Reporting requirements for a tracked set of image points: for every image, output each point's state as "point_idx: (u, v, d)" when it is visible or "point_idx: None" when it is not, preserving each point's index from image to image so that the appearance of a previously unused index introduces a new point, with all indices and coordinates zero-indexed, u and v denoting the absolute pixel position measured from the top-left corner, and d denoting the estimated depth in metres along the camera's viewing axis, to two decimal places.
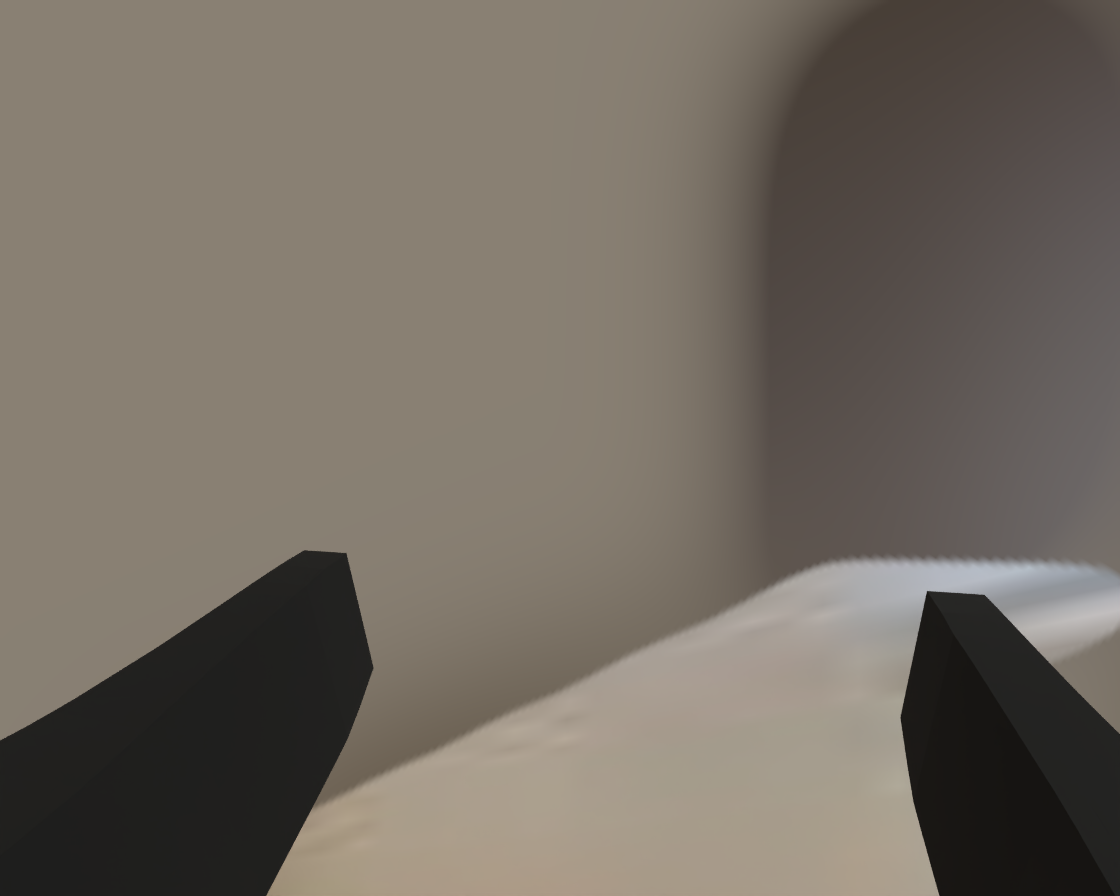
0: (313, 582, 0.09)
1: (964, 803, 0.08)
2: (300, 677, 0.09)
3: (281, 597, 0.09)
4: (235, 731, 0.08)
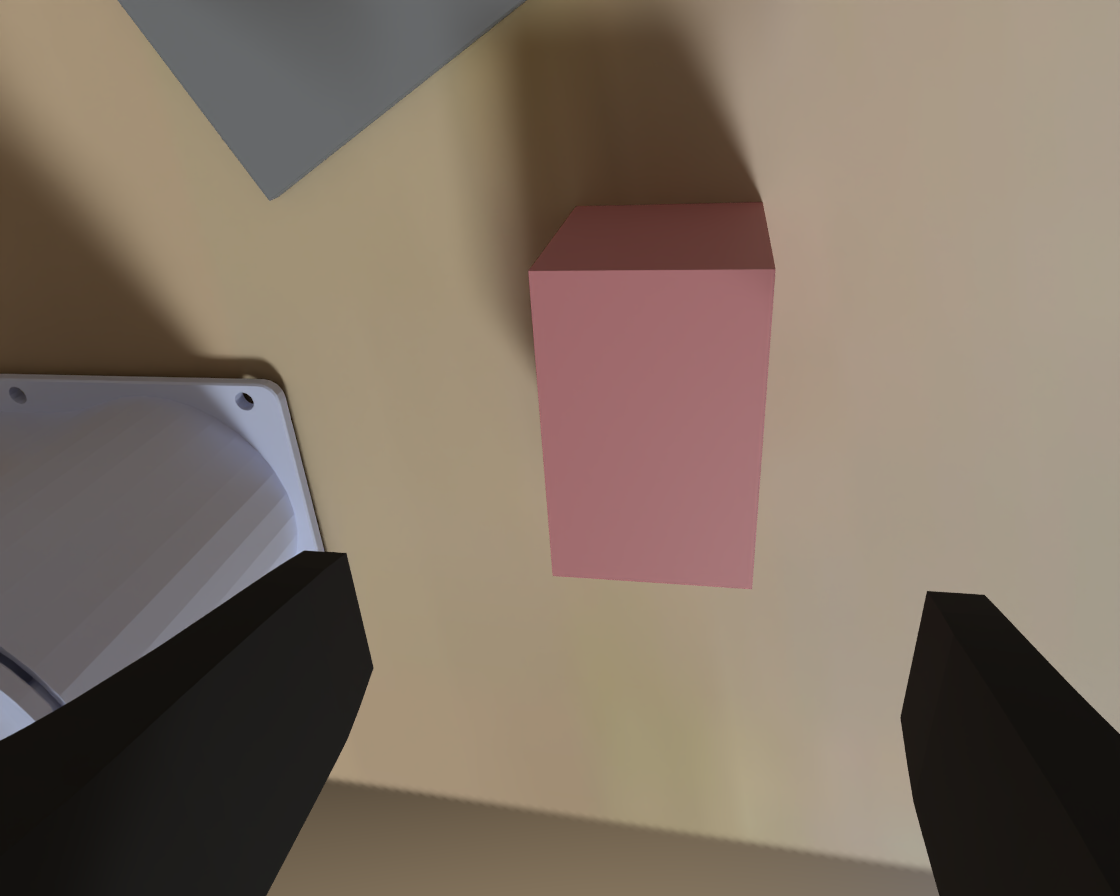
0: (313, 582, 0.09)
1: (964, 802, 0.08)
2: (300, 677, 0.09)
3: (281, 597, 0.09)
4: (235, 731, 0.08)
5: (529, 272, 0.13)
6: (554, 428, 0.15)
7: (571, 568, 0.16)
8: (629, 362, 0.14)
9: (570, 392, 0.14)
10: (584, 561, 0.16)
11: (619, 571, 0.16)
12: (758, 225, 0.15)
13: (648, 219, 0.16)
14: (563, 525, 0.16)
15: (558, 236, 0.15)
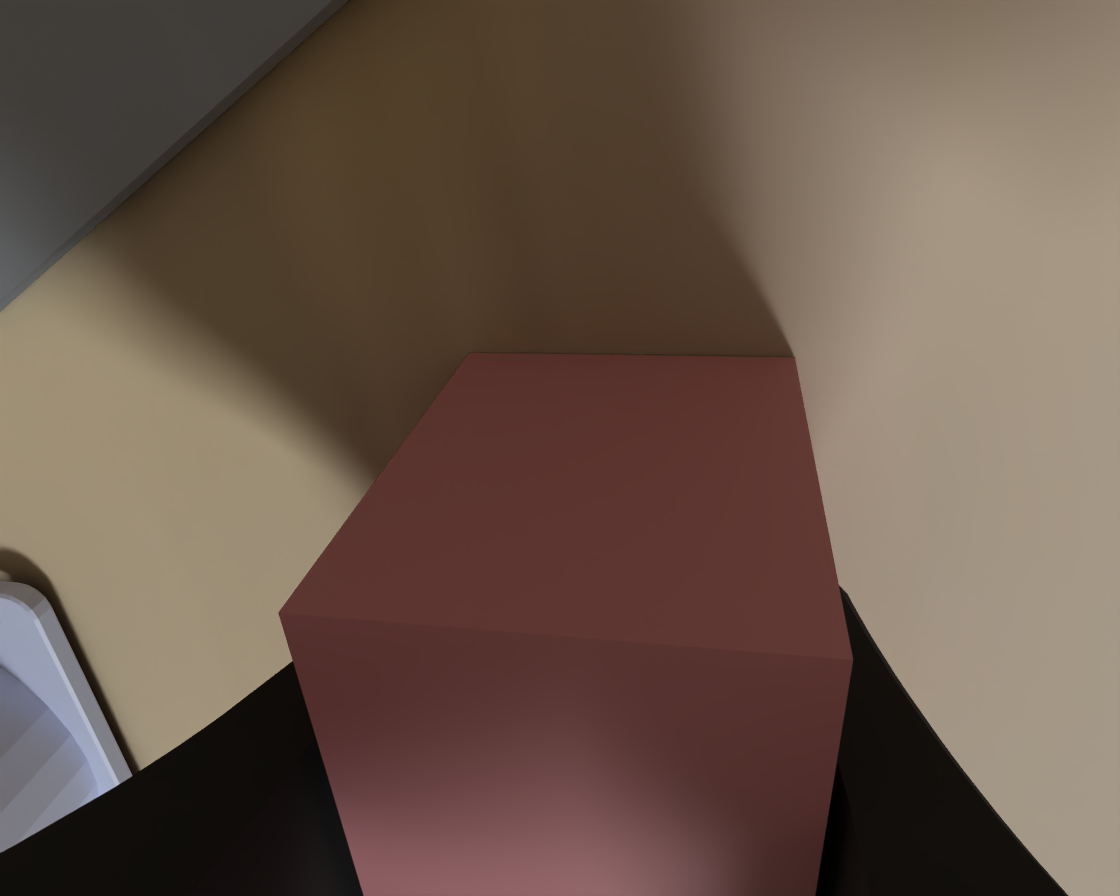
0: None
1: None
2: None
3: None
4: None
5: (280, 617, 0.06)
6: (380, 866, 0.07)
7: None
8: (519, 787, 0.06)
9: (403, 819, 0.07)
10: None
11: None
12: (794, 443, 0.07)
13: (583, 406, 0.08)
14: None
15: (400, 458, 0.08)
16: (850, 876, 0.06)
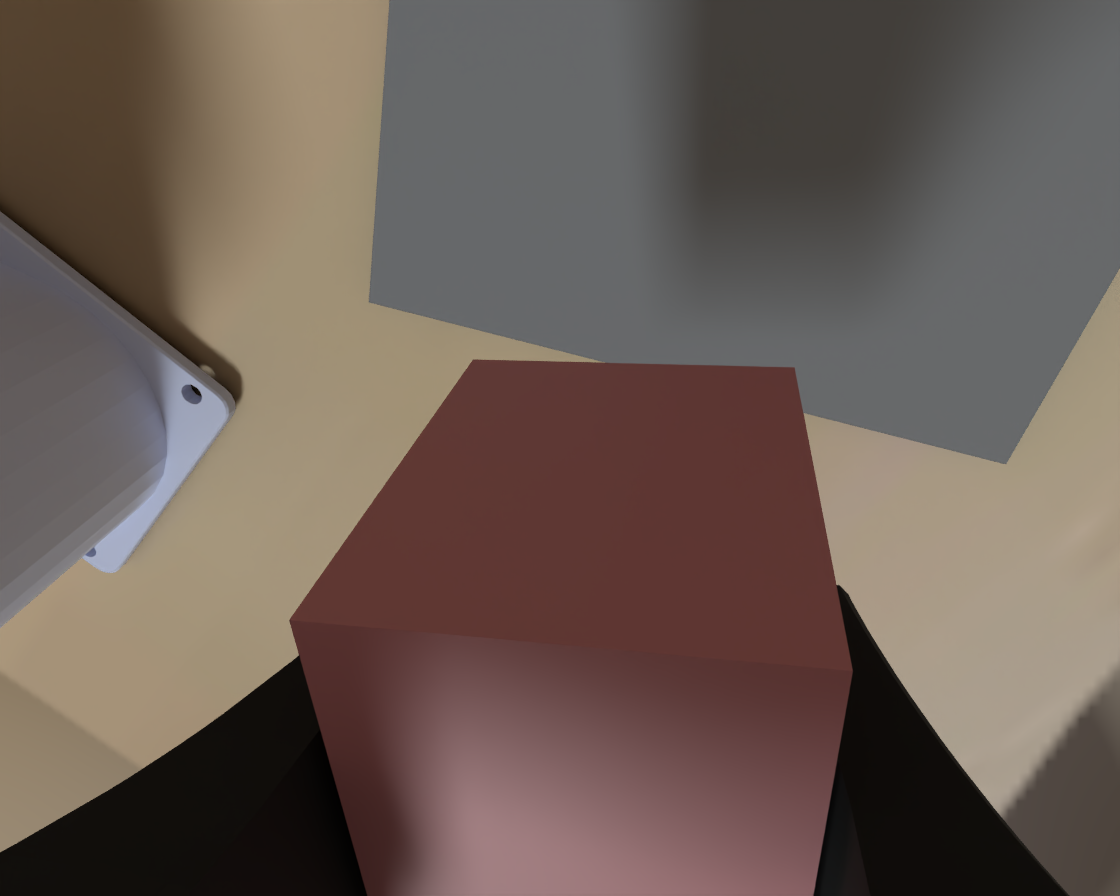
0: None
1: None
2: None
3: None
4: None
5: None
6: (384, 868, 0.07)
7: None
8: (522, 791, 0.06)
9: (407, 822, 0.07)
10: None
11: None
12: (794, 454, 0.08)
13: (587, 415, 0.09)
14: None
15: (407, 466, 0.08)
16: (851, 876, 0.06)
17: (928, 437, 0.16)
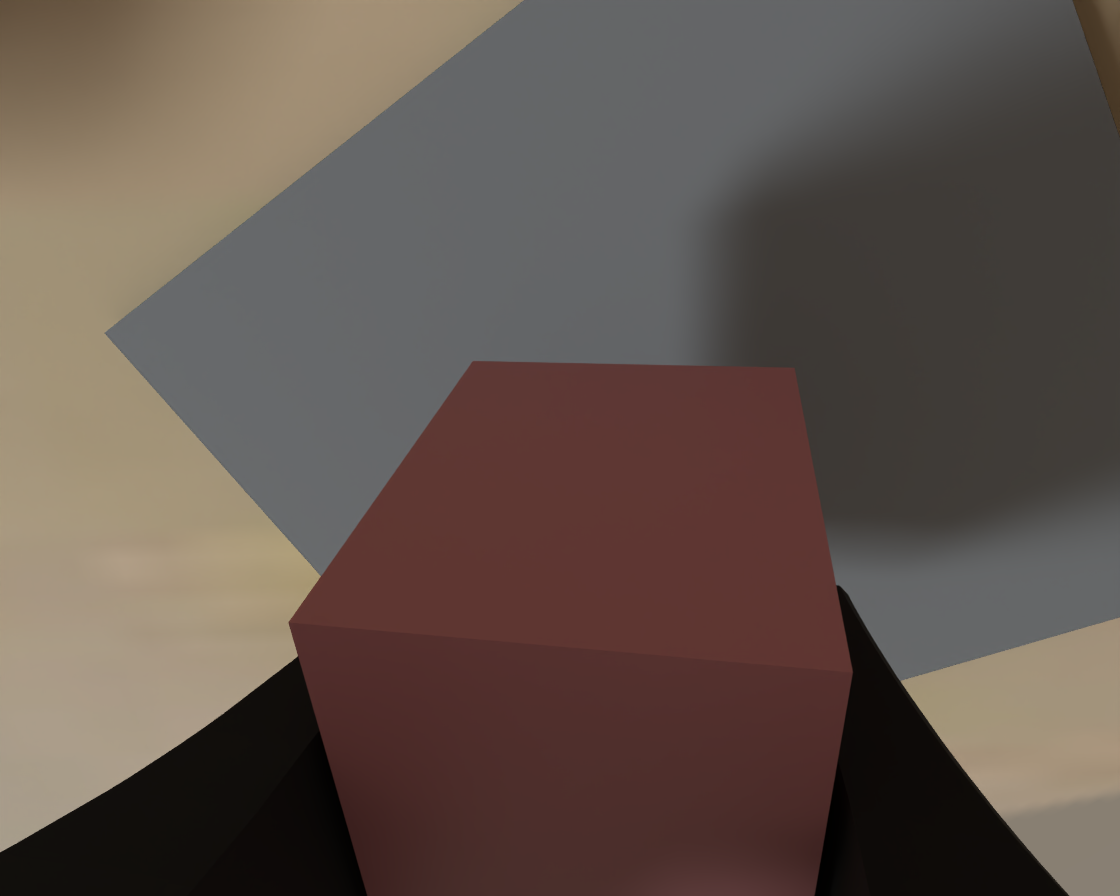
0: None
1: None
2: None
3: None
4: None
5: (290, 627, 0.06)
6: (385, 870, 0.07)
7: None
8: (522, 792, 0.06)
9: (408, 825, 0.07)
10: None
11: None
12: (794, 455, 0.08)
13: (587, 416, 0.09)
14: None
15: (406, 468, 0.08)
16: (851, 876, 0.06)
17: None
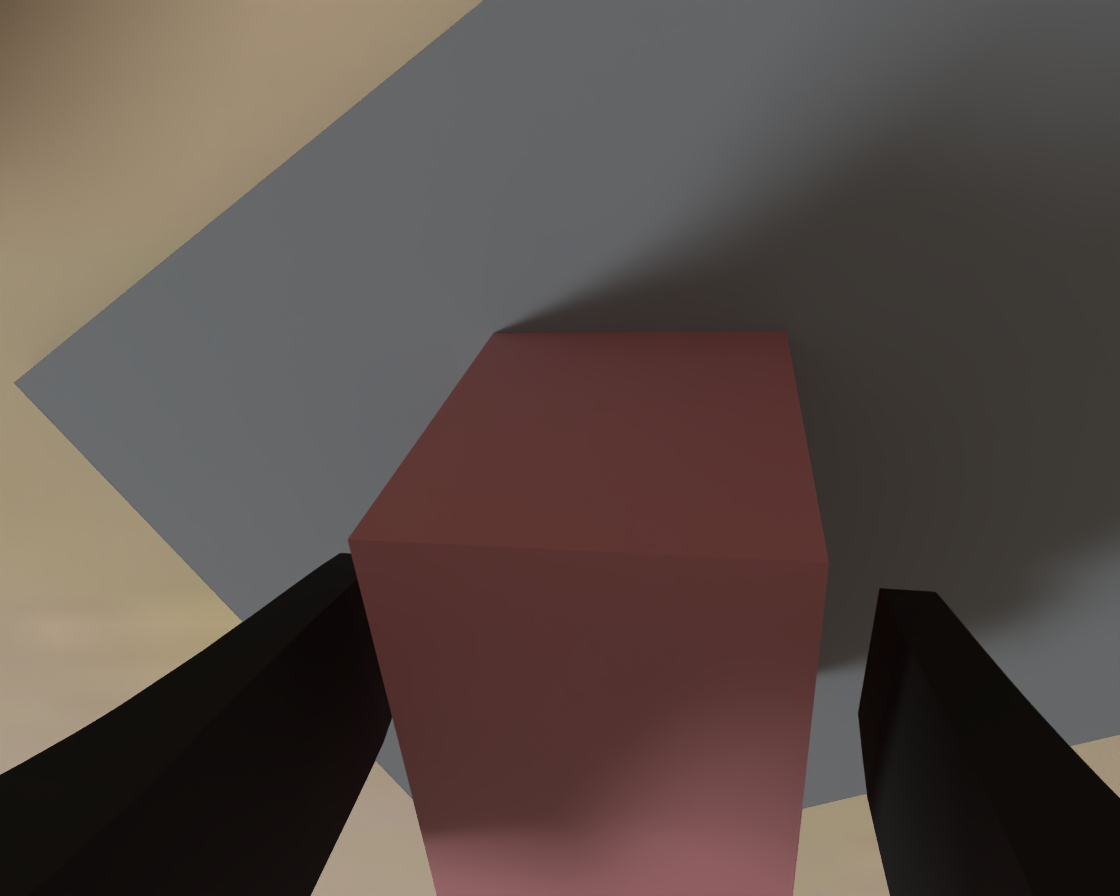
0: (353, 585, 0.09)
1: (909, 796, 0.08)
2: (340, 681, 0.09)
3: (322, 600, 0.09)
4: (280, 736, 0.08)
5: (349, 543, 0.07)
6: (428, 772, 0.08)
7: None
8: (551, 690, 0.07)
9: (449, 726, 0.08)
10: None
11: None
12: (784, 401, 0.09)
13: (598, 375, 0.10)
14: None
15: (439, 420, 0.09)
16: None
17: None
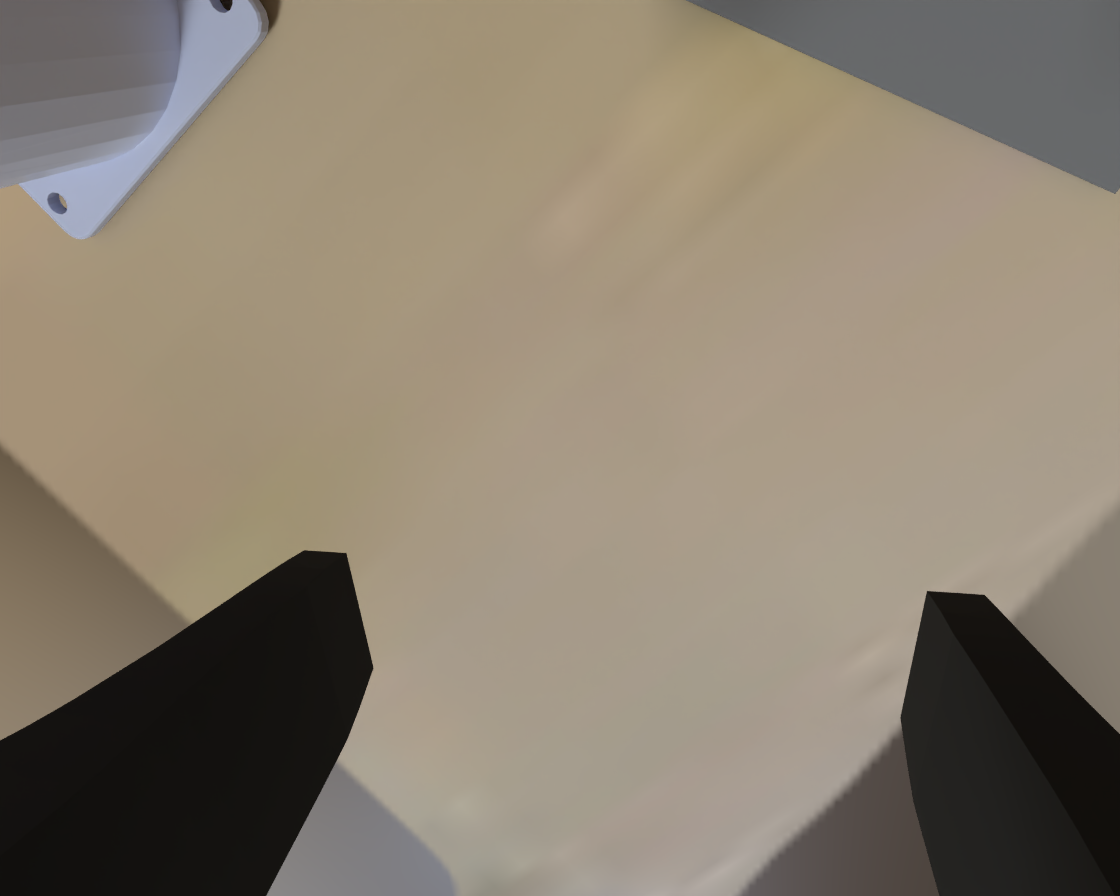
0: (313, 582, 0.09)
1: (964, 802, 0.08)
2: (300, 677, 0.09)
3: (281, 597, 0.09)
4: (235, 731, 0.08)
5: None
6: None
7: None
8: None
9: None
10: None
11: None
12: None
13: None
14: None
15: None
16: None
17: (1042, 150, 0.15)
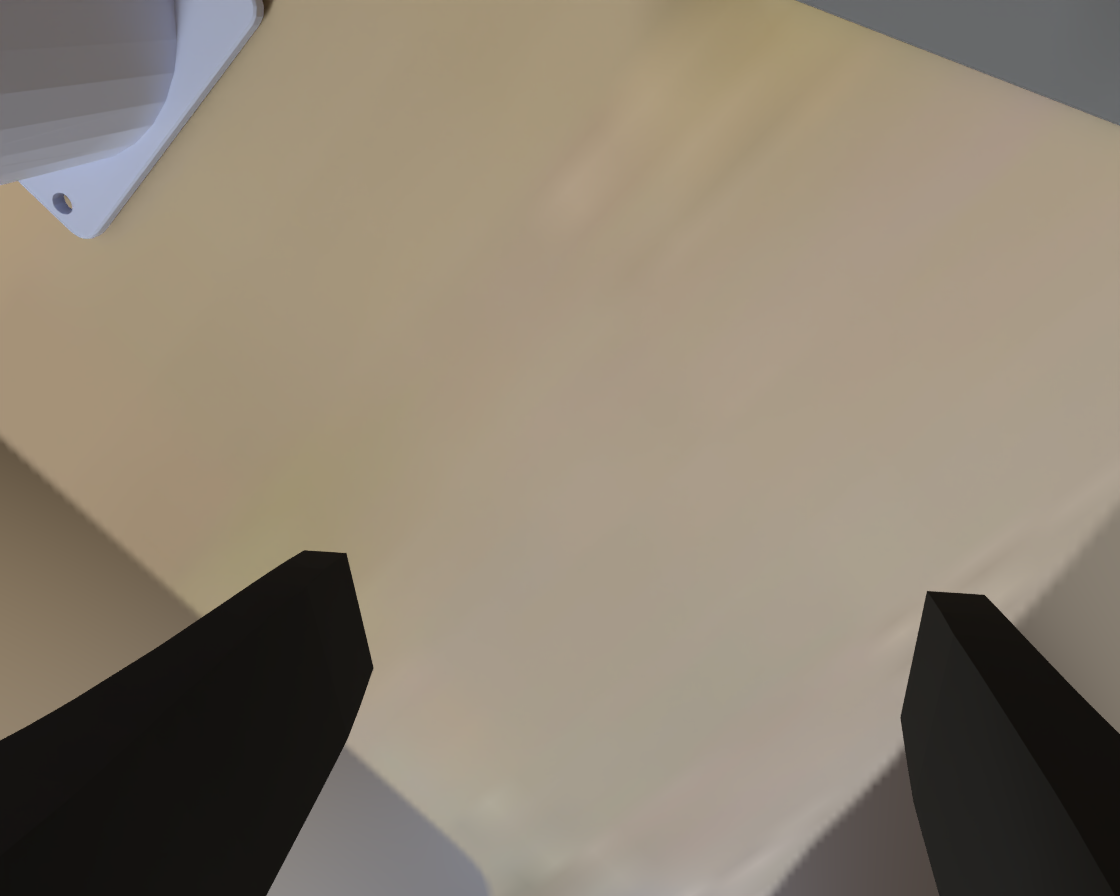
0: (313, 582, 0.09)
1: (965, 803, 0.08)
2: (300, 677, 0.09)
3: (281, 597, 0.09)
4: (235, 731, 0.08)
5: None
6: None
7: None
8: None
9: None
10: None
11: None
12: None
13: None
14: None
15: None
16: None
17: (1061, 91, 0.15)
